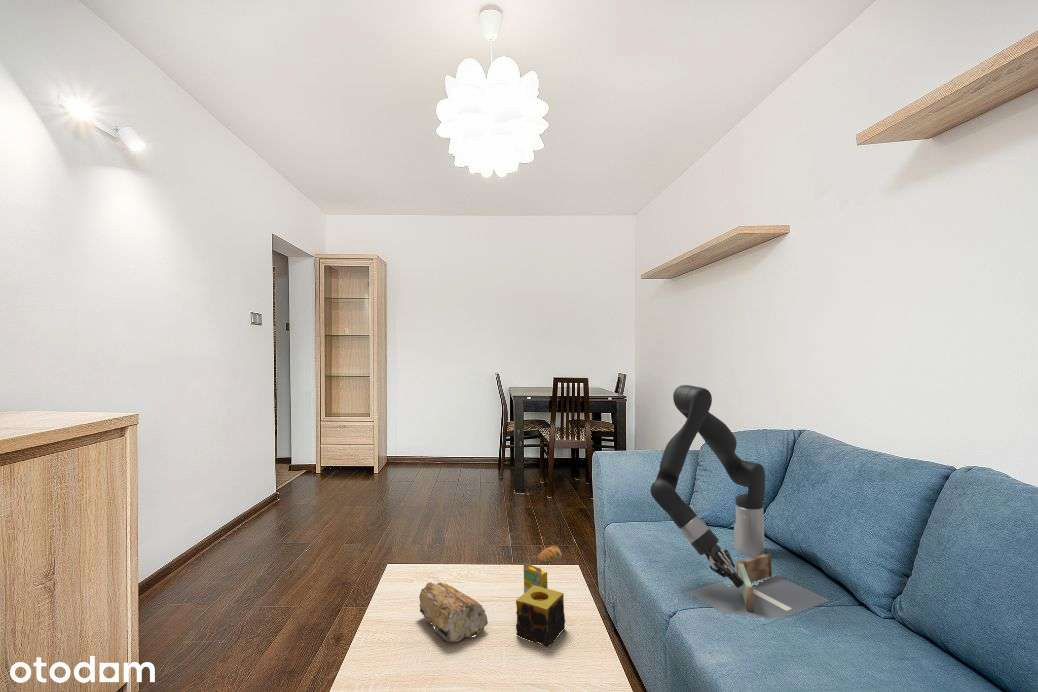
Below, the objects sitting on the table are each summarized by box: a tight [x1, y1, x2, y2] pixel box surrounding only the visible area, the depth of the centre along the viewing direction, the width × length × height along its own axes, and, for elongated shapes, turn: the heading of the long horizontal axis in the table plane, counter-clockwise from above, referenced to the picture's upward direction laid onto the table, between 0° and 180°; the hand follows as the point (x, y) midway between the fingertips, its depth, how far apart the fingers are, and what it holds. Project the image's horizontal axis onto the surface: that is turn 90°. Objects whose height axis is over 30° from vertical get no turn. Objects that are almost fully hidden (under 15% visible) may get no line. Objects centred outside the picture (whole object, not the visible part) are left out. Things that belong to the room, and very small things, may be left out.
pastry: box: [537, 545, 563, 564], centre depth 182 cm, size 9×7×4 cm
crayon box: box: [523, 562, 549, 594], centre depth 152 cm, size 7×3×12 cm, turn 47°
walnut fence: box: [741, 552, 773, 582], centre depth 162 cm, size 12×2×7 cm, turn 115°
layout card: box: [688, 574, 831, 621], centre depth 151 cm, size 23×33×1 cm
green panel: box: [735, 560, 754, 611], centre depth 151 cm, size 18×2×7 cm, turn 165°
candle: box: [515, 585, 566, 648], centre depth 136 cm, size 10×10×10 cm
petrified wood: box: [419, 581, 489, 643], centre depth 141 cm, size 19×13×10 cm
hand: (741, 585), depth 148 cm, fingers closed
